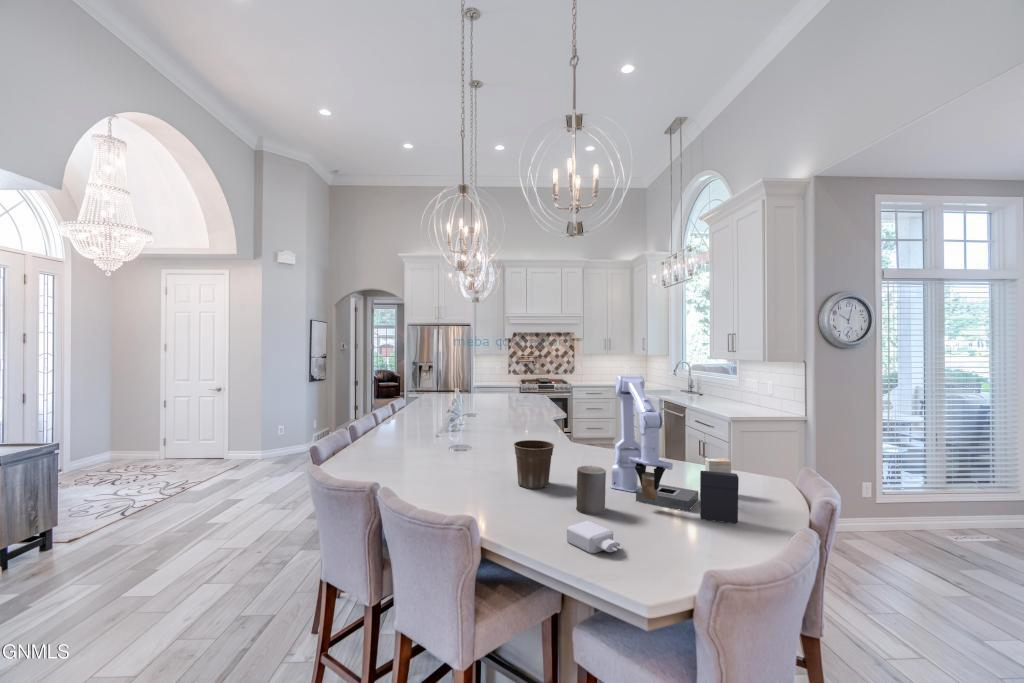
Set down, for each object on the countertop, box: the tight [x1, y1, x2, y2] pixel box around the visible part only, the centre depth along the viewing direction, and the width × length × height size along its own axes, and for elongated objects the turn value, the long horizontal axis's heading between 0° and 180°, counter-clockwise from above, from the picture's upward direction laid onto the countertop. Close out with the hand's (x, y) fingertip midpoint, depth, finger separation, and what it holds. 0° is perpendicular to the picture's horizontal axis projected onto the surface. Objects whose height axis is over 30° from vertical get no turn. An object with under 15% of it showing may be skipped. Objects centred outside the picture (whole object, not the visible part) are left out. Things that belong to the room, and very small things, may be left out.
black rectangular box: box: [699, 470, 740, 524], centre depth 152 cm, size 11×4×15 cm, turn 71°
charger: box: [566, 520, 623, 554], centre depth 130 cm, size 5×9×15 cm
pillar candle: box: [575, 465, 607, 516], centre depth 160 cm, size 10×10×15 cm
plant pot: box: [513, 439, 555, 490], centre depth 189 cm, size 16×16×16 cm
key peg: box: [641, 471, 658, 500], centre depth 161 cm, size 4×4×8 cm
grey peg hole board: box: [635, 483, 699, 512], centre depth 170 cm, size 18×14×4 cm
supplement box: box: [704, 457, 732, 473], centre depth 180 cm, size 8×5×13 cm, turn 84°
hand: (649, 487), depth 161 cm, fingers closed on key peg, 4 cm apart
